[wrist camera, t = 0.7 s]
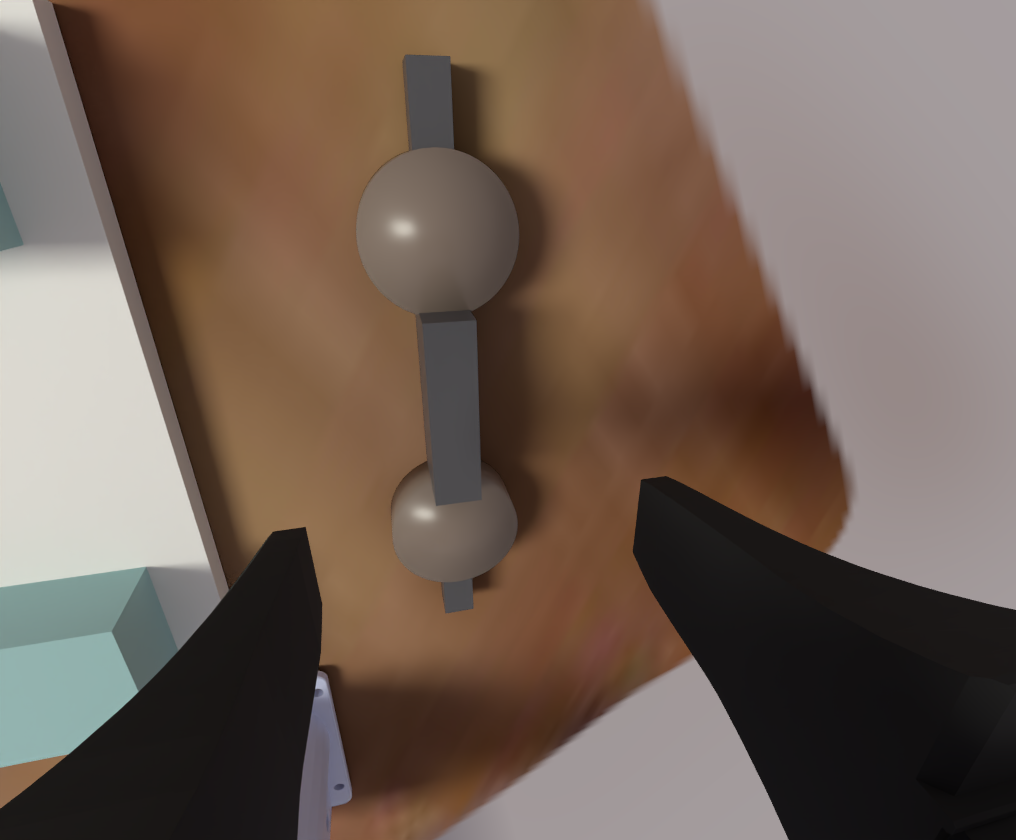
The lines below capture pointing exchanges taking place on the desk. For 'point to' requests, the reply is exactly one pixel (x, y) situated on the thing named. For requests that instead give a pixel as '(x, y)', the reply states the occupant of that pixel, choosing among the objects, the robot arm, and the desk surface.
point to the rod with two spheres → (443, 329)
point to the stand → (80, 429)
